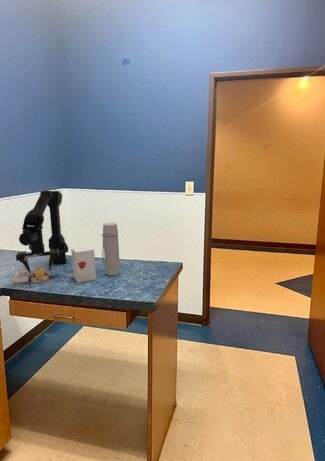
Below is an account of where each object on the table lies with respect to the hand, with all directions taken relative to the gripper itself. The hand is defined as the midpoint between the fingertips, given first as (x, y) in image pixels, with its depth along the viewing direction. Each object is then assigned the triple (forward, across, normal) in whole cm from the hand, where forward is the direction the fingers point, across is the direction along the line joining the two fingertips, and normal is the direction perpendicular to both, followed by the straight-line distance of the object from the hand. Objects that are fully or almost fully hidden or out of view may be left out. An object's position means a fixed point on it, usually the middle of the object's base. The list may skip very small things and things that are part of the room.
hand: (39, 271), depth 159 cm
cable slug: (+4, +8, -2) cm, 9 cm away
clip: (+4, +8, -2) cm, 9 cm away
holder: (+4, 0, 0) cm, 4 cm away
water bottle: (+4, -34, +4) cm, 34 cm away
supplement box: (+4, -20, +7) cm, 22 cm away
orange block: (+4, 0, 0) cm, 4 cm away
